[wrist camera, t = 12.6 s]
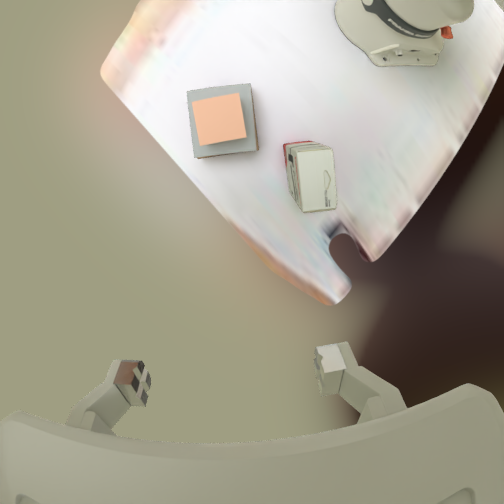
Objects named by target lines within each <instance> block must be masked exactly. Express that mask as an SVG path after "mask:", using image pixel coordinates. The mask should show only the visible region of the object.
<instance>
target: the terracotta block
mask: <svg viewBox="0 0 504 504" xmlns="http://www.w3.org/2000/svg"><path fill="white" fill-rule="evenodd" d="M192 107H193V112H194V118H195V123H196V128H197V133H198V139H199V144H200V146H203V145H207V144H212V143H218V142H223V141H228V140H234V139H240V138H246V137H247V136H246V130H245V125H244V119H243V113H242V107H241V101H240V96H239V93H234V94H228V95H223V96H218V97H212V98H208V99H203V100H198V101H194V102H192Z"/></svg>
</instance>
